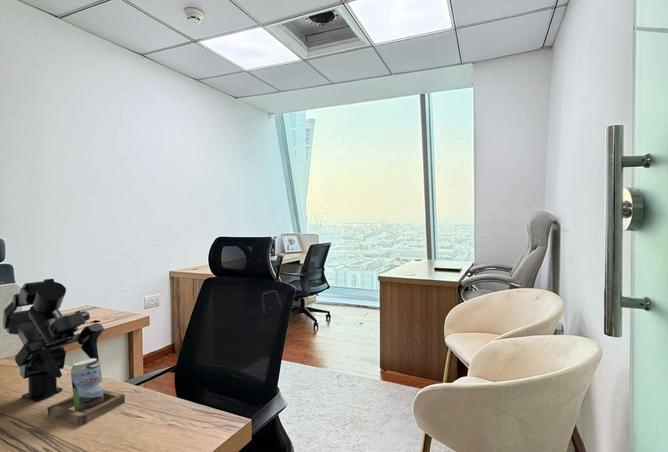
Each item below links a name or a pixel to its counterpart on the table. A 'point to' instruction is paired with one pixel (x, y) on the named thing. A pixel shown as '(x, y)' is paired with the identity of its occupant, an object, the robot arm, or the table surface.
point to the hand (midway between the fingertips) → (79, 368)
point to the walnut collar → (80, 418)
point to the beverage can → (87, 384)
